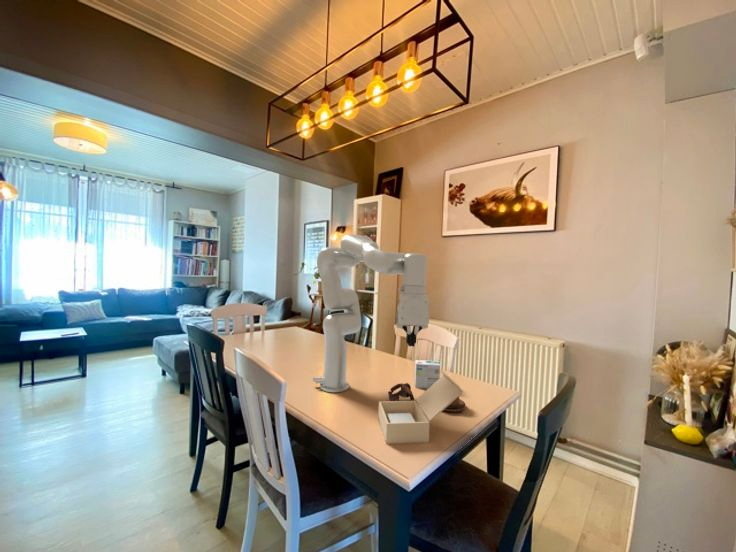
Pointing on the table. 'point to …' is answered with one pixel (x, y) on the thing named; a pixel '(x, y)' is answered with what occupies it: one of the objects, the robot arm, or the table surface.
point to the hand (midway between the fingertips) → (410, 345)
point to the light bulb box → (426, 373)
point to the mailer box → (403, 422)
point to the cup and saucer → (455, 405)
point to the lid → (439, 396)
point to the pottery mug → (401, 392)
